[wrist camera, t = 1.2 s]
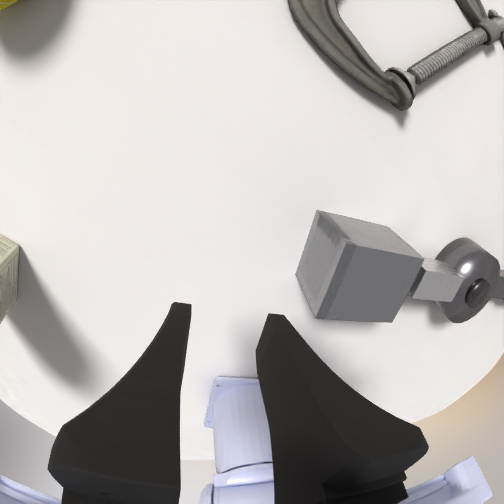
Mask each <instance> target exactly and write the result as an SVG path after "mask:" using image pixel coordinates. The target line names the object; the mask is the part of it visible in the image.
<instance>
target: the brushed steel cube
mask: <svg viewBox="0 0 504 504" xmlns="http://www.w3.org/2000/svg"><path fill="white" fill-rule="evenodd" d="M423 262H424V258H423V257H422V256H421V255H420V254H419V253H417V252H416V251H415V250H414V249H413V248H412V247H411V246H410V245H408V244H407V243H406V242H405V241H404V240H403V239H402V238H400V237H399V236H398V235H397V234H396V233H395V232H393V231H392V230H391V229H390V228H389V227H387V226H383V225H379V224H375V223H371V222H367V221H363V220H359V219H354V218H350V217H346V216H342V215H337V214H333V213H328V212H324V211H319V210H317V211H316V214H315V217H314V220H313V223H312V226H311V229H310V232H309V235H308V238H307V242H306V245H305V248H304V251H303V254H302V257H301V259H300V262H299V265H298V268H297V271H296V276H297V279H298V281H299V283H300V285H301V288H302V290H303V292H304V294H305V297H306V299H307V301H308V303H309V306H310V308H311V310H312V312H313V315H314V317H315V318H317V319H331V320H347V321H366V322H391V323H392V322H393V320H394V318H395V316H396V315H397V313H398V311H399V309H400V307H401V305H402V304H403V302H404V300H405V298H406V296H407V294H408V292H409V290H410V288H411V286H412V284H413V282H414V280H415V278H416V276H417V274H418V272H419V270H420V268H421V266H422V264H423Z"/></svg>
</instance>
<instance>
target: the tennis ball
mask: <svg viewBox="0 0 504 504" xmlns="http://www.w3.org/2000/svg"><path fill="white" fill-rule="evenodd" d="M17 1H18V0H0V10H2V9H4V8H7V7H9V6H11V5H12V4H14V3H15V2H17Z"/></svg>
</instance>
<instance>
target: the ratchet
mask: <svg viewBox="0 0 504 504" xmlns="http://www.w3.org/2000/svg"><path fill="white" fill-rule="evenodd" d="M423 258H424V257H423ZM408 295H409V296H410V297H411V298H412V299H422V300H433V301H434V302H435V304H436V305H437V306H438V307H439V308H440V309H441V310H442V312H443V313H444V314H445V315H446V316H447V317H448V319H449V320H450V321H451V322H453V323H462V322H465V321H467V320H469V319H470V318H472V317H473V316H475V315H476V314H477V313H478V312H479V311H480V310H481V309H482V308H483V307H484V306H485V305H486V303H487V302H488V301H489V299H490V298H491V297H492V298H502V299H504V270H500V265H499V262H498V260H497V259H496V258H495V257H493V256H492V255H491V254H490V253H488V252H487V251H486V250H484V249H483V248H482V247H480V246H479V245H478V244H476V243H475V242H474V241H472V240H471V239H469V238H459V239H456V240H454V241H453V242H451V243H450V244H448V245H447V246H446V247H445V248H444V249H443V250H442V251H441V252H440V253H439V255H438V256H437V257H436V259H435V260H434V259H429V258H424V262H423V264H422V266H421V268H420V270H419V272H418V274H417V276H416V278H415V280H414V282H413V284H412V286H411V288H410V290H409V292H408Z"/></svg>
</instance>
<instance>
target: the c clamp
mask: <svg viewBox="0 0 504 504" xmlns="http://www.w3.org/2000/svg"><path fill="white" fill-rule="evenodd" d="M456 1H457V2H458V4H459V6H460V7H461V9H462V10H463V12H464V13H465V15H466V16H467V17H468V18H469V20H470V21H471V22H472V24H473V28H474V29H473V30H471V31H469V32H467V33H465V34H464V35H462V36H460V37H458V38H457V39H455V40H453V41H452V42H450V43H448V44H446V45H445V46H443V47H441V48H439V49H438V50H436V51H434V52H433V53H431V54H429V55H428V56H426V57H425V58H423V59H422V60H420V61H418V62H417V63H415V64H414V65H412V66H411V67H409V69H407V72H406V71H403V70H401V69H399V68H395V67H392V68H389V69H388V70H386V71H385V72H383V71H382V70H381V69H380V68H379V66H378V65H377V64H376V63H375V62H374V61H373V60H372V59H371V57H370V56H369V55H368V54H367V52H366V51H365V50H364V48H363V47H362V45H361V44H360V43H359V41H358V40H357V39H356V37H355V36H354V35H353V34H352V32H351V31H350V30H349V28H348V27H347V26H346V25H345V23H344V22H343V20H342V19H341V17H340V15H339V12H338V10H337V6H336V0H288V3H289V6H290V9H291V11H292V13H293V15H294V17H295V19H296V20H297V22H298V23H299V24H300V25H301V27H302V28H303V29H304V30H305V32H306V33H307V34H308V35H309V36H310V37H311V39H312V40H313V41H314V42H315V43H316V44H317V45H318V46H319V47H320V49H321V50H322V51H323V52H324V53H325V54H326V55H327V56H328V57H329V58H330V59H331V60H333V61H334V62H335V63H336V64H337V65H338V66H339V67H340V68H342V69H343V70H344V71H345V72H346V73H348V74H349V75H350V76H352V77H353V78H354V79H355V80H357V81H358V82H360V83H361V84H362V85H364V86H365V87H367V88H368V89H370V90H372V91H373V92H375V93H376V94H378V95H380V96H382V97H384V98H386V99H388V100H390V101H391V103H392V104H393V105H394V106H395V107H396V108H397V109H399V110H401V111H403V110H407V109H408V108H409V107H411V105H412V103H413V100H414V98H415V95H416V89H415V84H421V83H422V82H424V81H426V80H427V79H429V78H430V77H432V75H435V74H436V73H437V72H439V71H440V70H442V69H443V68H445V67H447V66H448V65H449V64H451V63H453V62H454V61H456V60H458V59H459V58H460V57H462V56H463V55H465V54H466V53H468V52H470V51H471V50H473V49H474V48H476V47H477V46H479V45H481V44H484V45H490V44H492V43H494V42H495V41H497V40H498V39H499V38H501V40H502V43H503V46H504V18H503V17H501V16H498V13H497V12H496V11H495V10H489V16H490V17H491V19H489V18H488V17H487V15H486V12H485V10H484V7H483V5H482V3H481V1H480V0H456Z"/></svg>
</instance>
